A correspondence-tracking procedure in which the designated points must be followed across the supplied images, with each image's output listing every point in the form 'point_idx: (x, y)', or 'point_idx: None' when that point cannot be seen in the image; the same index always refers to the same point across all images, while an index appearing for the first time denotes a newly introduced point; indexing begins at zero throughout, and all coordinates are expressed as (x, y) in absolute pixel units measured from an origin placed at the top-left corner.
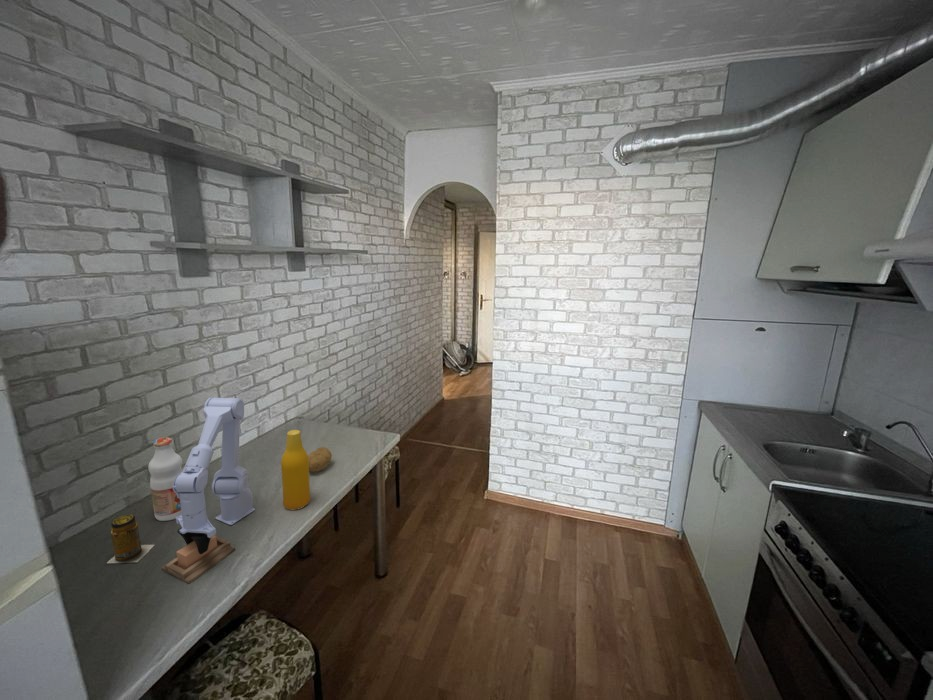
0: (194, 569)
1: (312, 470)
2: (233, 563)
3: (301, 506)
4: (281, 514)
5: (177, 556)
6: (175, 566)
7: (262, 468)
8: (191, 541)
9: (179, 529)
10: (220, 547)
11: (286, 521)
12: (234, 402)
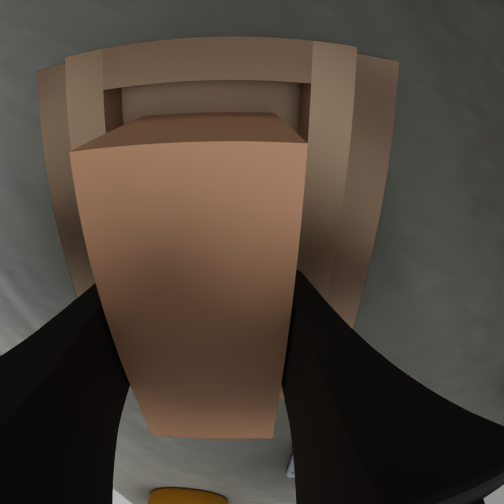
0: None
1: None
2: (23, 296)
3: (149, 498)
4: (178, 479)
5: (278, 128)
6: (240, 71)
7: None
8: (293, 349)
9: (500, 483)
10: None
11: (129, 467)
12: None
